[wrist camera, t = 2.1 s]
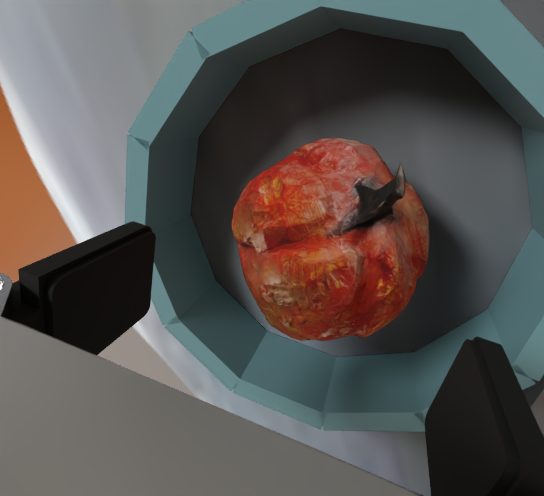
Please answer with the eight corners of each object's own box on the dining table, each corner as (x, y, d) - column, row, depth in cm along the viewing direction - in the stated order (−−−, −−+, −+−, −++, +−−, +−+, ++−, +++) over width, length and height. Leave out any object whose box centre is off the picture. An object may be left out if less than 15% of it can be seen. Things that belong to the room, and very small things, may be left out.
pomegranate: (361, 287, 21) (550, 252, 12) (260, 372, 17) (411, 415, 8) (289, 174, 20) (425, 47, 11) (173, 239, 17) (234, 137, 8)
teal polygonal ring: (194, -29, 15) (132, -66, 12) (667, 53, 12) (780, 35, 8) (165, 306, 23) (121, 345, 19) (452, 417, 19) (463, 489, 16)
